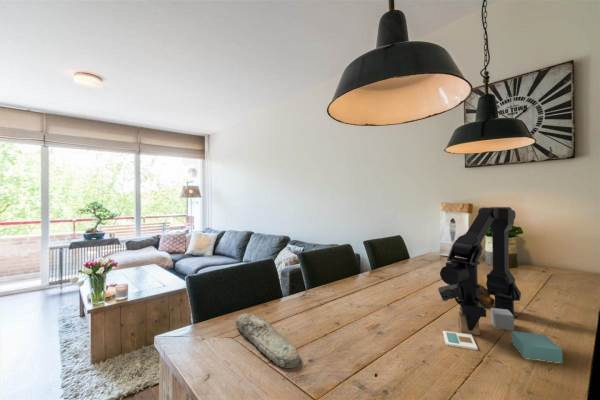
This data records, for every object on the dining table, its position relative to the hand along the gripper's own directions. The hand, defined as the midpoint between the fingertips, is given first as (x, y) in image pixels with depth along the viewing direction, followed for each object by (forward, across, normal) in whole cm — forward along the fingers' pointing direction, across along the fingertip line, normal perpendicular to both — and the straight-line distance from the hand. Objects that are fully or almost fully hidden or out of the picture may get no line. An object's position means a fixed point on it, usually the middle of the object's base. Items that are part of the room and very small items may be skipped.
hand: (468, 326), depth 87 cm
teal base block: (+2, +8, +14) cm, 17 cm away
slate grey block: (+2, -7, +11) cm, 13 cm away
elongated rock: (+2, +28, -61) cm, 67 cm away
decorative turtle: (+2, -28, +8) cm, 29 cm away
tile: (+1, +8, -4) cm, 9 cm away
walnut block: (+1, 0, 0) cm, 1 cm away
